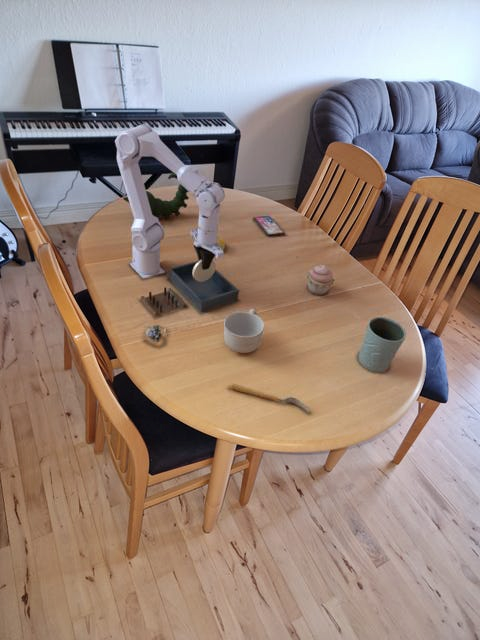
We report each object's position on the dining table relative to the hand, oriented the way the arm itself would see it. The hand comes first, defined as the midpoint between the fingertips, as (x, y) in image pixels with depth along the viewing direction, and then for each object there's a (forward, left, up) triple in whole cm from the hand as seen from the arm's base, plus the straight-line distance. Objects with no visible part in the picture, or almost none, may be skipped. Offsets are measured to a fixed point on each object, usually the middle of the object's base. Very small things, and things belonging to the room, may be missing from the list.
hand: (204, 267), depth 133 cm
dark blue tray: (0, 0, -8) cm, 8 cm away
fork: (+46, -10, -9) cm, 48 cm away
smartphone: (-25, +48, -9) cm, 55 cm away
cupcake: (+17, +35, -9) cm, 40 cm away
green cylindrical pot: (+50, +25, -9) cm, 57 cm away
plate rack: (+1, -15, -8) cm, 17 cm away
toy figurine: (-49, +10, -9) cm, 51 cm away
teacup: (+26, -3, -9) cm, 28 cm away
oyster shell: (+13, -23, -9) cm, 28 cm away
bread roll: (-21, +18, -9) cm, 29 cm away
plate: (0, 0, -5) cm, 5 cm away
